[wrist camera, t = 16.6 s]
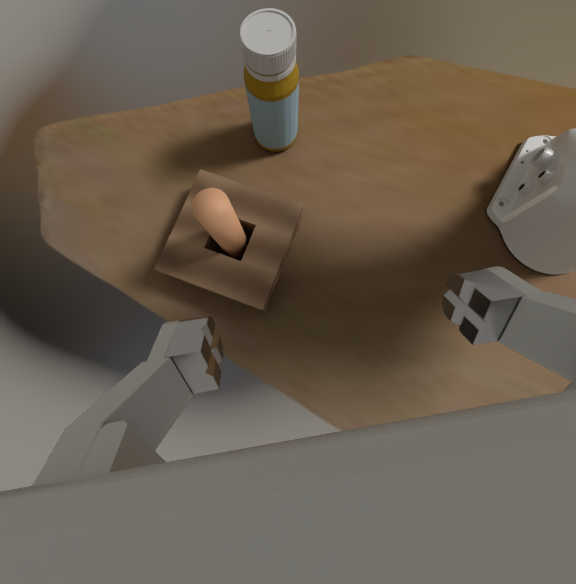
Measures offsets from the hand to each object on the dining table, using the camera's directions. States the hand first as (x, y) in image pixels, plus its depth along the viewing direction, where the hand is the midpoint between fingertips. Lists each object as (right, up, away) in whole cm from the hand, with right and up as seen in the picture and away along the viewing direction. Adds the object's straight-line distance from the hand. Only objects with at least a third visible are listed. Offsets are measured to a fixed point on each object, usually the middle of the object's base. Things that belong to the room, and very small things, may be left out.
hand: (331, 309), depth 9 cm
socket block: (-10, +8, +31) cm, 33 cm away
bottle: (-4, +27, +34) cm, 43 cm away
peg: (-10, +8, +31) cm, 33 cm away
